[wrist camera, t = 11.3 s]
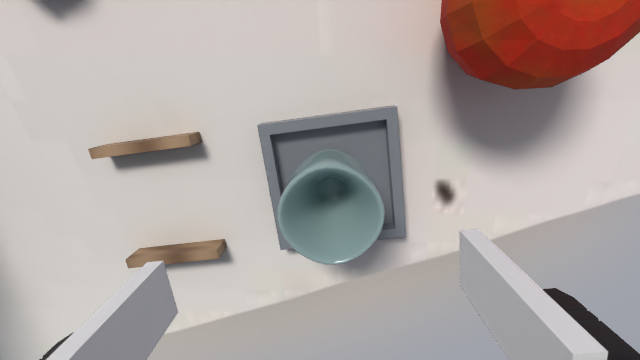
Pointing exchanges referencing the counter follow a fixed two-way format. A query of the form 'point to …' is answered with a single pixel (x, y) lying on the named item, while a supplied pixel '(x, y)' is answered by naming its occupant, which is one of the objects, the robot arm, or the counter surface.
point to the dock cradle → (347, 135)
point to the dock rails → (169, 252)
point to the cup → (331, 208)
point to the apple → (535, 37)
